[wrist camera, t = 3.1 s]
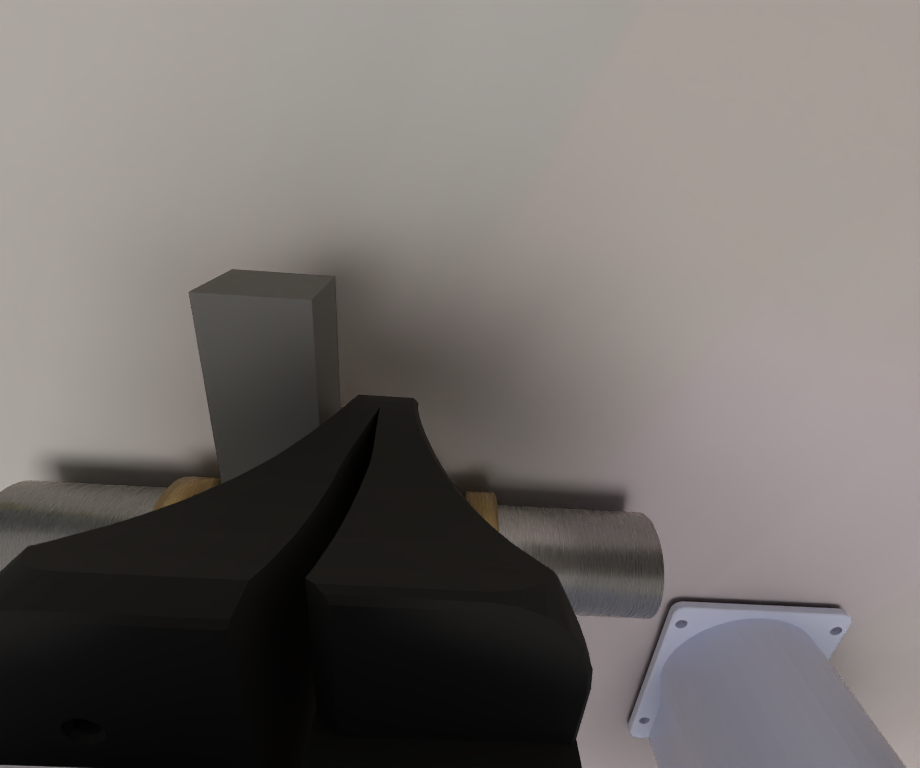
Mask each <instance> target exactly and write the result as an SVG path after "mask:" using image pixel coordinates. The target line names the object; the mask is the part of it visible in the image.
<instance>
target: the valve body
mask: <svg viewBox="0 0 920 768" xmlns="http://www.w3.org/2000/svg"><path fill="white" fill-rule="evenodd" d="M219 484H222V483H221V478H212V477H194V476H186V477H182V478H180V479H178V480H176V481H175V482H173V483H172V484H171V485H170V486H169V487H168V488H165V487H146V486H127V485H108V484H89V483H70V482H51V481H32V480H29V481H22V482H18V483H15V484H13V485H11V486H9V487H7V488H5V489H4V490H2V491H1V492H0V571H1V570H2V569H3V568H4V567H5V566H7V565H8V564H9V563H10V562H11V561H12V560H13V559H14V558H15V557H16V556H17V555H19V554H20V553H21V552H22V551H23V550H24V549H25V548H26V547H28V546H31V545H35V544H39V543H44V542H48V541H51V540H55V539H59V538H63V537H66V536H70V535H74V534H77V533H81V532H85V531H89V530H92V529H96V528H100V527H104V526H107V525H111V524H114V523H117V522H121V521H124V520H127V519H130V518H133V517H136V516H139V515H142V514H145V513H148V512H151V511H154V510H157V509H160V508H163V507H165V506H168V505H171V504H174V503H176V502H179V501H182V500H184V499H187V498H190V497H192V496H194V495H196V494H199V493H201V492H203V491H206V490H208V489H210V488H213V487H215V486H217V485H219ZM464 498H465V499H466V500H467V501H468V502H469V504H470V505H471V506H472V507H473V508H474V509H475V510H476V511H477V512H478V513H479V514H480V515H481V516H482V517H483V518H484V519H485V520H486V521H487V522H488V523H489V524H490V525H491V526H492V527H493V528H495V529H496V530H497V531H498V532H499V533H501V534H502V535H503V536H504V537H505V538H507V539H508V540H509V541H510V542H512V543H513V544H514V545H516V546H517V547H518V548H520V549H521V550H523V551H524V552H526V553H527V554H529V555H530V556H532V557H533V558H535V559H536V560H538V561H539V562H541V563H542V564H544V565H545V566H547V567H548V568H550V569H551V570H553V571H554V572H555V573H556V574H557V576H558V578H559V580H560V582H561V584H562V586H563V588H564V590H565V592H566V595H567V597H568V599H569V601H570V603H571V606H572V608H573V610H574V613H575V615H579V616H601V617H623V618H645V619H649V618H652V617H653V616H654V615H655V614H656V613H657V611H658V609H659V607H660V604H661V601H662V596H663V589H664V563H663V555H662V550H661V545H660V541H659V538H658V535H657V532H656V530H655V528H654V525H653V524H652V522H651V520H650V519H649V518H648V517H647V516H646V515H645V514H643V513H639V512H620V511H601V510H582V509H563V508H544V507H525V506H506V505H497V500H496V496H495V494H494V493H492V492H474V491H466V492H465V497H464Z"/></svg>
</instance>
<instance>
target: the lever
mask: <svg viewBox="0 0 920 768" xmlns="http://www.w3.org/2000/svg"><path fill="white" fill-rule="evenodd" d="M189 297H190V303H191V308H192V314H193V320H194V326H195V332H196V337H197V343H198V349H199V355H200V361H201V366H202V372H203V378H204V384H205V390H206V396H207V401H208V407H209V413H210V419H211V425H212V430H213V436H214V442H215V448H216V454H217V459H218V465H219V471H220V477H221V483H224V482H226V481H229V480H231V479H233V478H235V477H237V476H239V475H241V474H243V473H245V472H247V471H249V470H251V469H253V468H255V467H256V466H258V465H260V464H262V463H264V462H266V461H267V460H269V459H271V458H273V457H274V456H276V455H278V454H279V453H281V452H283V451H284V450H285V449H287V448H288V447H290V446H291V445H293V444H294V443H296V442H297V441H299V440H300V439H302V438H303V437H305V436H306V435H308V434H309V433H311V432H312V431H314V430H315V429H316V428H318V427H319V426H320V425H321V424H323V423H324V422H325V421H327V420H328V419H329V418H331V417H332V416H333V415H334V414H336V413H337V412H338V411H339V410H340V385H339V360H338V336H337V311H336V286H335V276H323V275H308V274H293V273H279V272H264V271H249V270H235V269H232V270H230V271H228V272H226V273H224V274H222V275H220V276H219V277H217V278H215V279H213V280H211V281H209V282H207V283H205V284H203V285H201V286H199V287H197V288H195V289H193V290H192V291H190V292H189Z"/></svg>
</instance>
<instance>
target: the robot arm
mask: <svg viewBox="0 0 920 768" xmlns="http://www.w3.org/2000/svg"><path fill="white" fill-rule="evenodd" d="M851 621H852V619H851V617H850V616H849V614H848V613H847V612H846V611H845V610H843V609H837V608H816V607H794V606H773V605H751V604H730V603H708V602H687V601H681V602H677V603H675V604H674V605H672V607H671V608H670V610H669V613H668V616H667V618H666V621H665V624H664V627H663V630H662V632H661V635H660V638H659V641H658V643H657V646H656V649H655V652H654V654H653V657H652V660H651V663H650V665H649V668H648V671H647V674H646V676H645V679H644V682H643V685H642V687H641V690H640V693H639V696H638V699H637V701H636V704H635V707H634V710H633V712H632V715H631V718H630V721H629V723H628V729H629V732H630V734H631V735H632V736H633V737H637V738H649V739H650V742H651V745H652V749H653V752H654V755H655V758H656V761H657V764H658V767H659V768H906V766H905V765H904V764H903V762H902V761H901V759H900V758H899V757H898V755H897V754H896V753H895V751H894V750H893V749H892V747H891V746H890V744H889V743H888V742H887V740H886V739H885V738H884V736H883V735H882V733H881V732H880V731H879V729H878V728H877V727H876V725H875V724H874V722H873V721H872V720H871V718H870V717H869V716H868V714H867V713H866V712H865V710H864V709H863V707H862V706H861V705H860V703H859V702H858V701H857V699H856V698H855V696H854V695H853V694H852V692H851V691H850V690H849V688H848V687H847V686H846V684H845V683H844V681H843V680H842V679H841V677H840V676H839V675H838V673H837V672H836V670H835V669H834V668H833V666H832V665H831V664H830V662H829V659H830V657H831V656H832V654H833V652H834V651H835V649H836V647H837V646H838V644H839V642H840V641H841V639H842V637H843V636H844V634H845V632H846V631H847V629H848V627H849V626H850V624H851ZM592 670H593V669H592V666H591V663H590V657H589V652H588V649H587V645H586V642H585V639H584V636H583V633H582V630H581V628H580V625H579V623H578V620H577V618H576V615H575V613H574V610H573V608H572V606H571V603H570V601H569V599H568V597H567V595H566V592H565V590H564V588H563V586H562V584H561V582H560V580H559V578H558V576H557V574H556V573H555V572H554V571H553V570H551V569H550V568H548V567H547V566H545V565H544V564H542V563H541V562H539V561H538V560H536V559H535V558H533V557H532V556H530V555H529V554H527V553H526V552H524V551H523V550H521V549H520V548H518V547H517V546H516V545H514V544H513V543H512V542H510V541H509V540H508V539H507V538H505V537H504V536H503V535H502V534H501V533H499V532H498V531H497V530H496V529H495V528H493V527H492V526H491V525H490V524H489V523H488V522H487V521H486V520H485V519H484V518H483V517H482V516H481V515H480V514H479V513H478V512H477V511H476V510H475V509H474V508H473V507H472V506H471V505H470V504H469V502H468V501H467V500H466V499H465V498H464V496H463V495H462V494H461V493H460V492H459V490H458V489H457V488H456V486H455V485H454V484H453V482H452V481H451V479H450V478H449V477H448V475H447V474H446V472H445V470H444V469H443V467H442V466H441V464H440V462H439V460H438V459H437V457H436V455H435V453H434V451H433V449H432V447H431V445H430V443H429V441H428V439H427V436H426V434H425V432H424V429H423V427H422V424H421V420H420V417H419V413H418V402H417V401H416V400H415V399H414V398H403V397H387V396H370V395H358V396H357V397H355V398H354V399H353V400H352V401H350V402H349V403H348V404H347V405H345V406H344V407H343V408H342V409H341V410H339V411H338V412H337V413H336V414H334V415H333V416H332V417H331V418H329V419H328V420H327V421H325V422H324V423H323V424H321V425H320V426H319V427H318V428H316V429H315V430H314V431H312V432H311V433H309V434H308V435H306V436H305V437H303V438H302V439H300V440H299V441H297V442H296V443H294V444H293V445H291V446H290V447H288V448H287V449H285V450H284V451H283V452H281V453H279V454H278V455H276V456H274V457H273V458H271V459H269V460H267V461H266V462H264V463H262V464H260V465H258V466H256V467H255V468H253V469H251V470H249V471H247V472H245V473H243V474H241V475H239V476H237V477H235V478H233V479H231V480H229V481H226V482H224V483H222V484H219V485H217V486H215V487H213V488H210V489H208V490H206V491H203V492H201V493H199V494H196V495H194V496H192V497H190V498H187V499H184V500H182V501H179V502H176V503H174V504H171V505H168V506H165V507H163V508H160V509H157V510H154V511H151V512H148V513H145V514H142V515H139V516H136V517H133V518H130V519H127V520H124V521H121V522H117V523H114V524H111V525H107V526H104V527H100V528H96V529H92V530H89V531H85V532H81V533H77V534H74V535H70V536H66V537H63V538H59V539H55V540H51V541H48V542H44V543H39V544H35V545H31V546H28V547H26V548H25V549H24V550H23V551H22V552H21V553H20V554H19V555H17V556H16V557H15V558H14V559H13V560H12V561H11V562H10V563H9V564H8V565H7V566H5V567H4V568H3V569H2V570H1V571H0V768H582V766H581V761H580V756H579V751H578V746H577V741H576V737H577V734H578V731H579V727H580V724H581V720H582V717H583V714H584V710H585V707H586V704H587V700H588V697H589V694H590V690H591V681H592Z"/></svg>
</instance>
